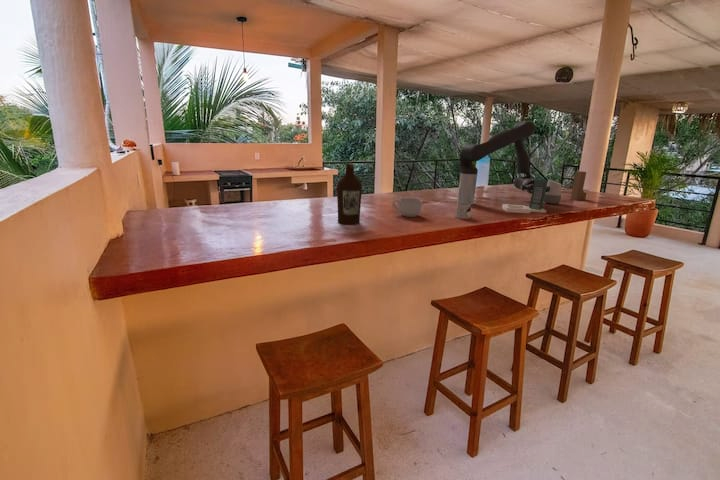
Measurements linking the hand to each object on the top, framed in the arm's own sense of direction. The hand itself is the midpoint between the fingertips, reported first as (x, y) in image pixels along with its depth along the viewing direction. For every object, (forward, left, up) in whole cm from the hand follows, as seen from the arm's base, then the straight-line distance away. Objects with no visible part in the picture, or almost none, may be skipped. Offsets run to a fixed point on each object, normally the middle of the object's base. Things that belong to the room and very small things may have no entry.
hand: (538, 190), depth 196 cm
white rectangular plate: (0, 0, -11) cm, 11 cm away
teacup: (-68, -34, -11) cm, 77 cm away
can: (0, 0, -10) cm, 10 cm away
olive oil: (-92, -56, -11) cm, 108 cm away
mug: (-41, -29, -11) cm, 52 cm away
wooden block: (+39, +48, -11) cm, 63 cm away
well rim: (-11, -4, -11) cm, 16 cm away
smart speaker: (+16, +26, -11) cm, 32 cm away
